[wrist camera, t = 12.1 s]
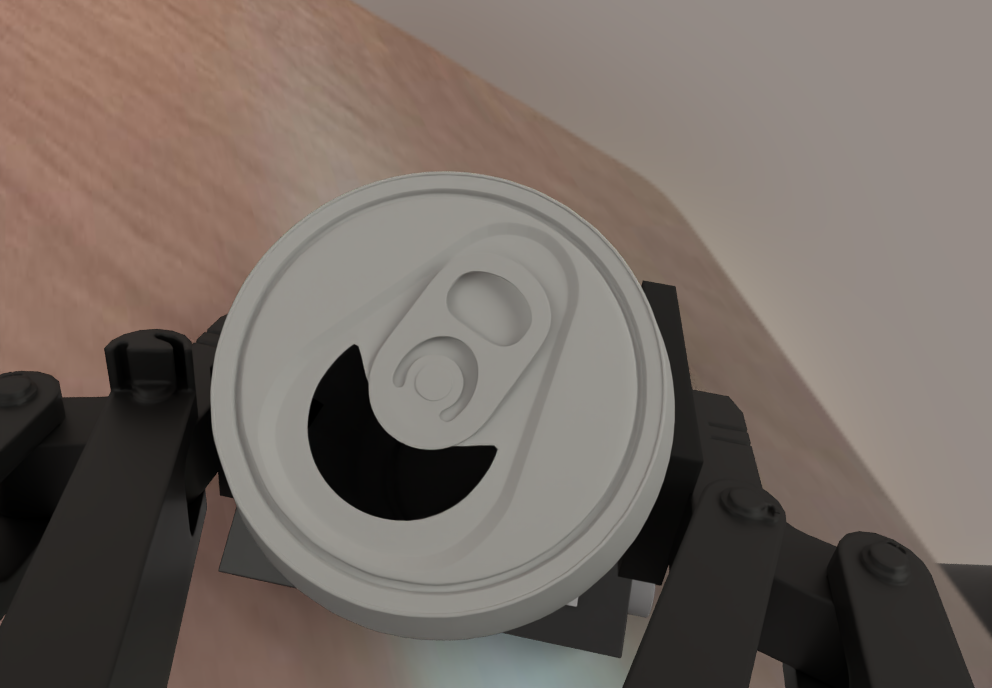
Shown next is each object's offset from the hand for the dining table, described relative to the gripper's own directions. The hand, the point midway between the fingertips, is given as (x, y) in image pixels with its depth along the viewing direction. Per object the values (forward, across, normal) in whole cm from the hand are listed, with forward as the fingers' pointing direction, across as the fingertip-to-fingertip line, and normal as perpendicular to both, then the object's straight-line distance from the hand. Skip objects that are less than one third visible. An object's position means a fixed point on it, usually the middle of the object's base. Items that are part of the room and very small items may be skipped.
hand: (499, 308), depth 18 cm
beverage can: (0, 0, -5) cm, 5 cm away
